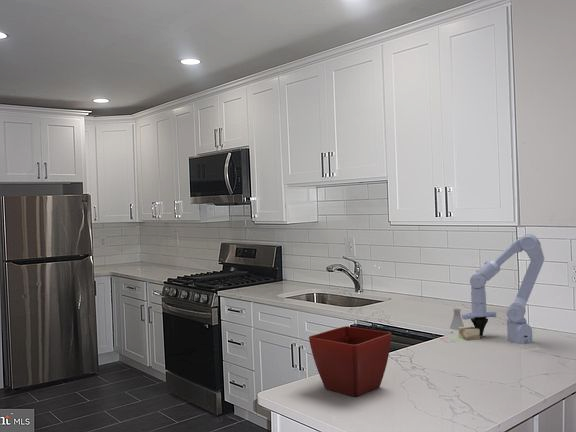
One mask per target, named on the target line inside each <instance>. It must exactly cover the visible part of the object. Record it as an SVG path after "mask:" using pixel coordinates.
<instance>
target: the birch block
mask: <svg viewBox="0 0 576 432" xmlns="http://www.w3.org/2000/svg"><path fill="white" fill-rule="evenodd" d="M458 329H459V330H458V337H460V338H462V339H465V340H469V341H476V340H475V339H480V338H481V336H480V329H477V328H475V327H474V326H472V325H471V326H464V327H458ZM480 340H481V339H480Z"/></svg>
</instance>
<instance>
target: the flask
mask: <svg viewBox="0 0 576 432" xmlns="http://www.w3.org/2000/svg"><path fill="white" fill-rule="evenodd" d="M452 310H453V317H452V320H451V323H450V326H449V328H450V329H451V330H455V331H459V329H458V327H465V325H464V322H463V319H462V314H461V311H462V310H461V308H453V309H452Z"/></svg>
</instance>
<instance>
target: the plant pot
mask: <svg viewBox="0 0 576 432" xmlns="http://www.w3.org/2000/svg"><path fill="white" fill-rule="evenodd" d="M308 341H309V345H310V349H311V354H312V357H313V360H314V363H315V367H316V369H317V371H318V374H319V377H320V379H321V382H322V384H323V387H324V389H325V390H329V391H333V392H336V393H340V394H344V395H348V396H352V397H358V396H361V395H364V394H365V393H368V392H370V391H372V390H375V389H377V388H380V387H381V384H382V382H383V378H384V375H385V371H386V368H387V365H388V360H389V356H390V350H391V342H392V333H391V332H387V331H382V330H375V329H368V328H361V327H354V326H348V325H346V326H341V327H337V328H333V329H330V330H327V331H323V332H320V333H316V334H313V335H310V336H309V335H308Z"/></svg>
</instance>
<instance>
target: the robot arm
mask: <svg viewBox="0 0 576 432" xmlns="http://www.w3.org/2000/svg"><path fill="white" fill-rule="evenodd" d="M521 252H525V253H526V254H527V256H528V258H529V260H530V261H529V264H528V267H527V268H526V271H525V274H524V276H523V279H522V282H521V284H520V287H519V288H518V292H517V294H516V296H515V298H514V301H513V303H511V304H510V305H509V307H508V309H507V311H506V317H507V319H506V327H507V328H506V331H507V333H506V334H507V336H506V337H507V340H508V341H510V342H512V343H517V344H519V345H520V344H529V343H530V344H531V343H533V340H534V339H533V329H532V326H530V325H529V324H528V323H527V319H526V318H525V314H526V306H527V303H528V302H529V298H530V296H531V294H532V292H533V288H534V286H535V284H536V282H537V279H538V276H539V274H540V272H541V269H542V266H543V263H544V261H545V255H544V251H543V248H542V244H541V242H540V239H538V237H537V236H536V235H534V234H533V233H532V234H531V233H526V234H525V235H523V236H522V237H521V238H519V239H517V240H516V241H514V242H513V243H511V244H510V245H509V246H508V247H506V249H505V250H504V251H502V253H500V255H498V257H497V258H495V260H494V259H493V260H492V259H491V260H488V261H487V260H486V261H485V262H483V264H484V265H482V267H480V268H479V269H476V270H475V274H472V275H471V277H470V280H469V284H470V285H471V287H470V300H471V301H470V303H471V312H468V313H462V314H461V319H462V320H469V319H470V321H471V323H472V324H473V327H475V328H477V329H480V337H483V336H484V332H485V328H486V326H487V323H488V322H489V319H488V318H496V317H497V312H495V311H487V292H486V284H487V282H489V281H490V280H492V278H494V277H495V276H496V275H498V274H499V272H500V271H501V266H502V265H503V264H504V263H505V262H506V261H508V260H509V259H510V258H512V256H514V255H515V254H517V253H521Z"/></svg>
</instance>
